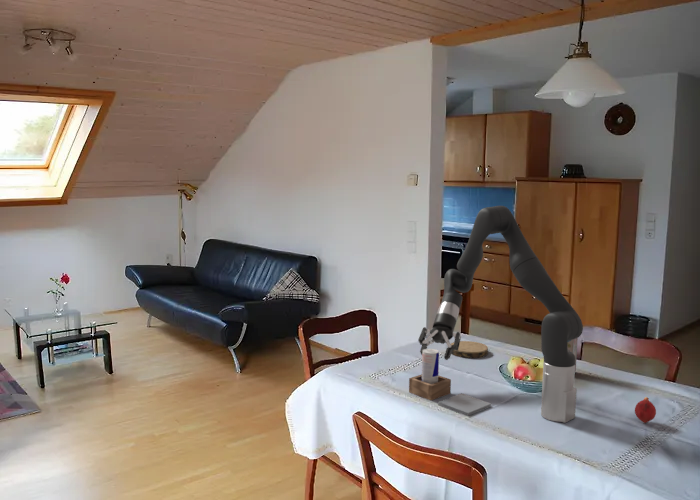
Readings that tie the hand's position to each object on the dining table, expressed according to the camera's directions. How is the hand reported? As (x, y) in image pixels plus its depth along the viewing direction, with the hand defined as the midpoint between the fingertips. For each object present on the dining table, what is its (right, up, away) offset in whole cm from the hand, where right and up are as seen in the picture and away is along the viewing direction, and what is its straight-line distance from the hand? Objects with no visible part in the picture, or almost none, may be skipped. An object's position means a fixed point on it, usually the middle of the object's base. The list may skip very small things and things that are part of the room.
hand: (434, 356), depth 210 cm
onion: (+60, -16, -25) cm, 67 cm away
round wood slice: (+21, -7, +46) cm, 51 cm away
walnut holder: (-2, -12, -1) cm, 12 cm away
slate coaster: (+8, -14, -13) cm, 20 cm away
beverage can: (-2, -12, -1) cm, 13 cm away
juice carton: (+52, -10, +20) cm, 57 cm away
